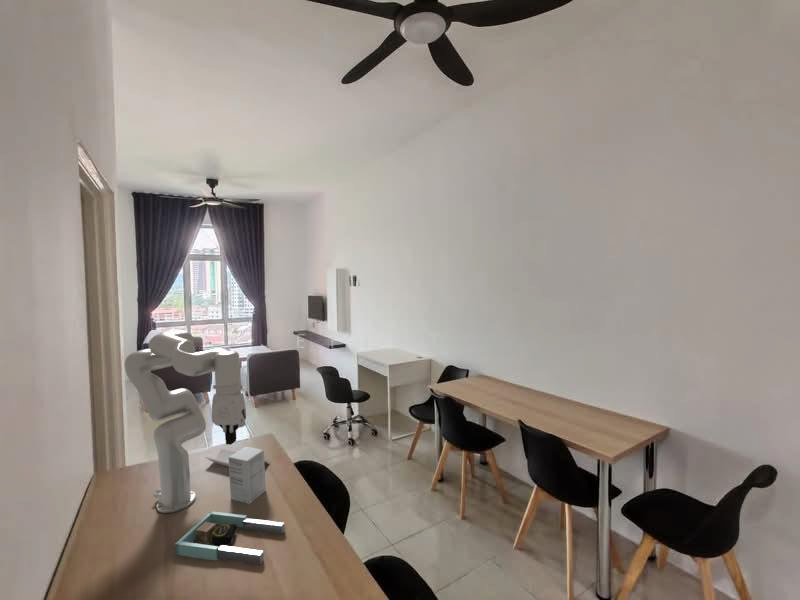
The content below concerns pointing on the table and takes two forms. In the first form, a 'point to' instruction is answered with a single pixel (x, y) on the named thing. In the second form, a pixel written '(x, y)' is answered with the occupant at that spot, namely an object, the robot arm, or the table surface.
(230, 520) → the u shaped frame
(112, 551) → the table surface
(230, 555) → the slot rails
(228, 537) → the tape measure
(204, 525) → the tan cardboard cube
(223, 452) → the z bracket
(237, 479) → the supplement box
